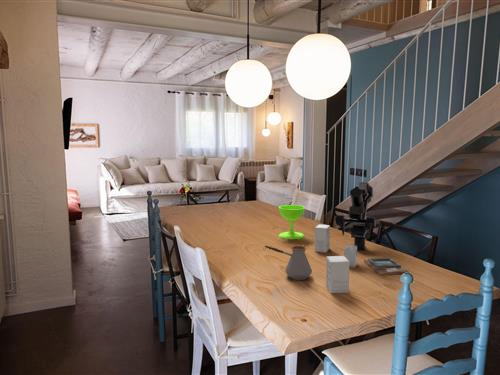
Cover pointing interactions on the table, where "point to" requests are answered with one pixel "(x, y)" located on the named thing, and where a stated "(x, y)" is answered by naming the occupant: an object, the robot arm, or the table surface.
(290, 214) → the wineglass
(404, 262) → the table surface
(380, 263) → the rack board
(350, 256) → the light grey block
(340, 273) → the supplement box
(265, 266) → the table surface
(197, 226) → the table surface
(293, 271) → the coffee pot
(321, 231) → the small box
